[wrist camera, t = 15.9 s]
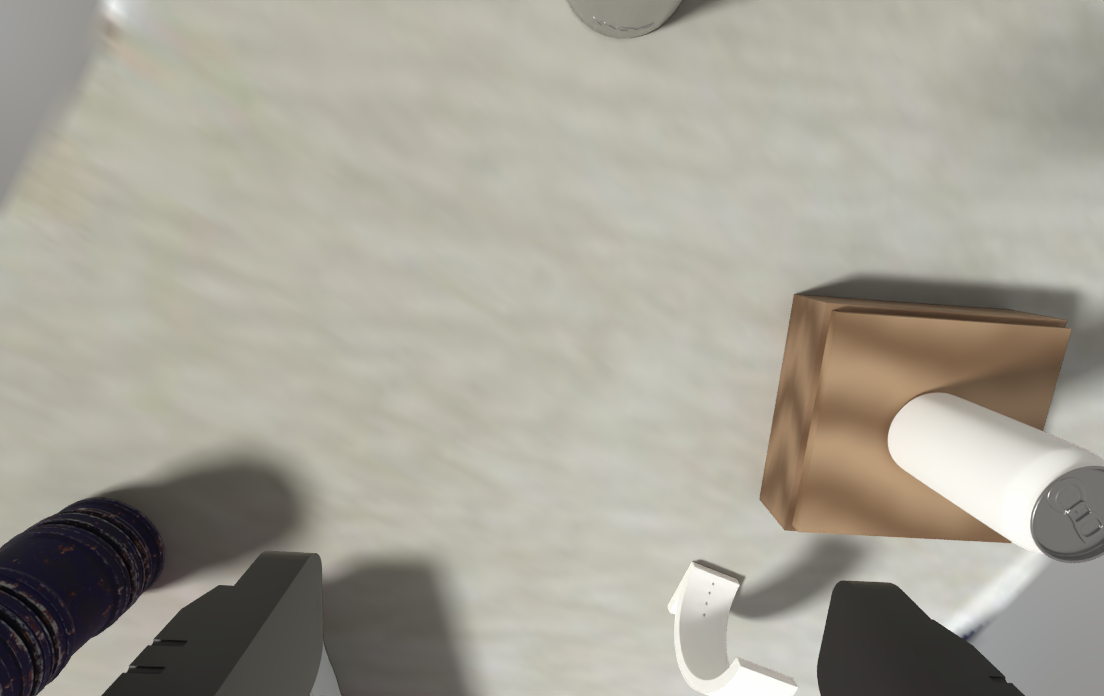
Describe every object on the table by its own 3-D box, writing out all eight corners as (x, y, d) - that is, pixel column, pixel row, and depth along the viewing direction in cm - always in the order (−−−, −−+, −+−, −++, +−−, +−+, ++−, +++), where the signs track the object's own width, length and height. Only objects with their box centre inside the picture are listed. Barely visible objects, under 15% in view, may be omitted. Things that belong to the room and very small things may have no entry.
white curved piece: (736, 578, 50) (798, 687, 38) (705, 632, 51) (757, 753, 39) (691, 561, 49) (740, 665, 38) (661, 615, 50) (700, 733, 39)
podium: (794, 294, 44) (833, 304, 38) (1009, 309, 45) (1080, 322, 39) (759, 499, 48) (790, 537, 42) (958, 510, 49) (1015, 549, 43)
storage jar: (180, 522, 47) (-32, 698, 30) (149, 614, 49) (-68, 832, 31) (62, 479, 46) (-232, 637, 28) (35, 575, 48) (-257, 779, 30)
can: (939, 372, 40) (1108, 434, 28) (987, 434, 41) (1168, 519, 29) (866, 429, 40) (1001, 512, 29) (914, 489, 42) (1063, 592, 30)
